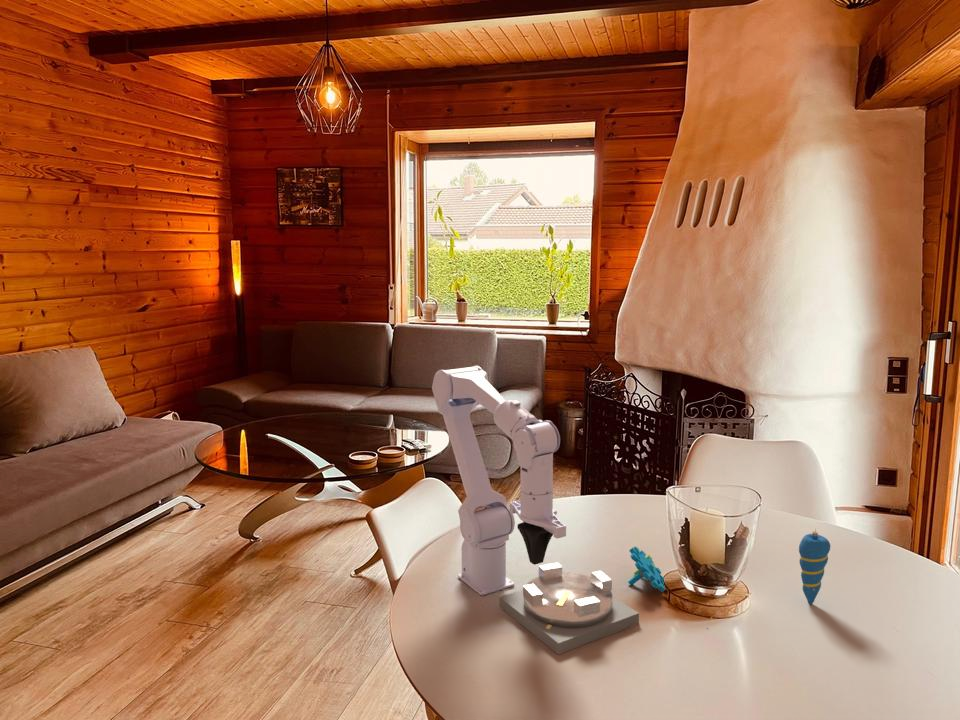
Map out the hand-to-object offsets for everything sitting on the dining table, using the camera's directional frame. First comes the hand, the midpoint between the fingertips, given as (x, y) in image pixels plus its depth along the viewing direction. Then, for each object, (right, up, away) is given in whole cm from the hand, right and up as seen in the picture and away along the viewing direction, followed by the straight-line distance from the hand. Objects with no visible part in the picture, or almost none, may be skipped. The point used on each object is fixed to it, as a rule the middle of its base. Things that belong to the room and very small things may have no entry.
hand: (536, 562), depth 123 cm
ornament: (+52, -10, +5) cm, 53 cm away
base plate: (+6, -10, +2) cm, 12 cm away
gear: (+23, -9, +13) cm, 28 cm away
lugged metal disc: (+6, -8, +1) cm, 10 cm away
